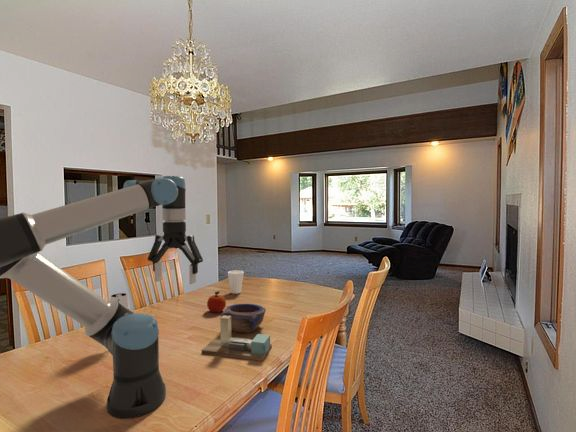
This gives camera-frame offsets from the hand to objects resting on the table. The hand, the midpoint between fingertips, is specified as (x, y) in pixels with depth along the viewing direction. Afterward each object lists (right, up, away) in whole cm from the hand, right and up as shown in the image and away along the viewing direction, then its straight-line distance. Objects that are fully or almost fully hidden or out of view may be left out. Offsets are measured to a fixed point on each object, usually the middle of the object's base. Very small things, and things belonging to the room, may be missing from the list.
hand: (175, 282), depth 112 cm
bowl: (+20, -28, +31) cm, 46 cm away
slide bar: (+22, -27, +10) cm, 36 cm away
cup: (+7, -25, +88) cm, 92 cm away
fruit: (+2, -27, +54) cm, 60 cm away
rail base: (+20, -28, +11) cm, 36 cm away
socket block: (+29, -27, +8) cm, 41 cm away
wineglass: (-27, -28, +15) cm, 42 cm away
